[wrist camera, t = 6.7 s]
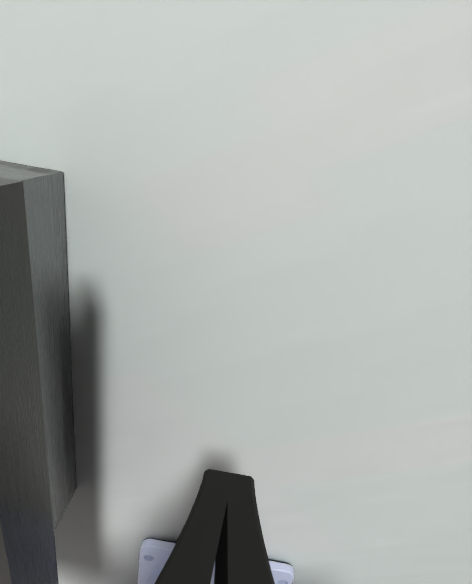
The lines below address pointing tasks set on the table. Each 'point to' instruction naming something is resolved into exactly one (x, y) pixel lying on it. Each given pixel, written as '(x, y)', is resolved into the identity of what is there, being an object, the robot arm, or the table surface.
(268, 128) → the table surface
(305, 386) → the table surface
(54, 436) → the dark grey box
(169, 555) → the robot arm
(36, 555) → the cooker lid
